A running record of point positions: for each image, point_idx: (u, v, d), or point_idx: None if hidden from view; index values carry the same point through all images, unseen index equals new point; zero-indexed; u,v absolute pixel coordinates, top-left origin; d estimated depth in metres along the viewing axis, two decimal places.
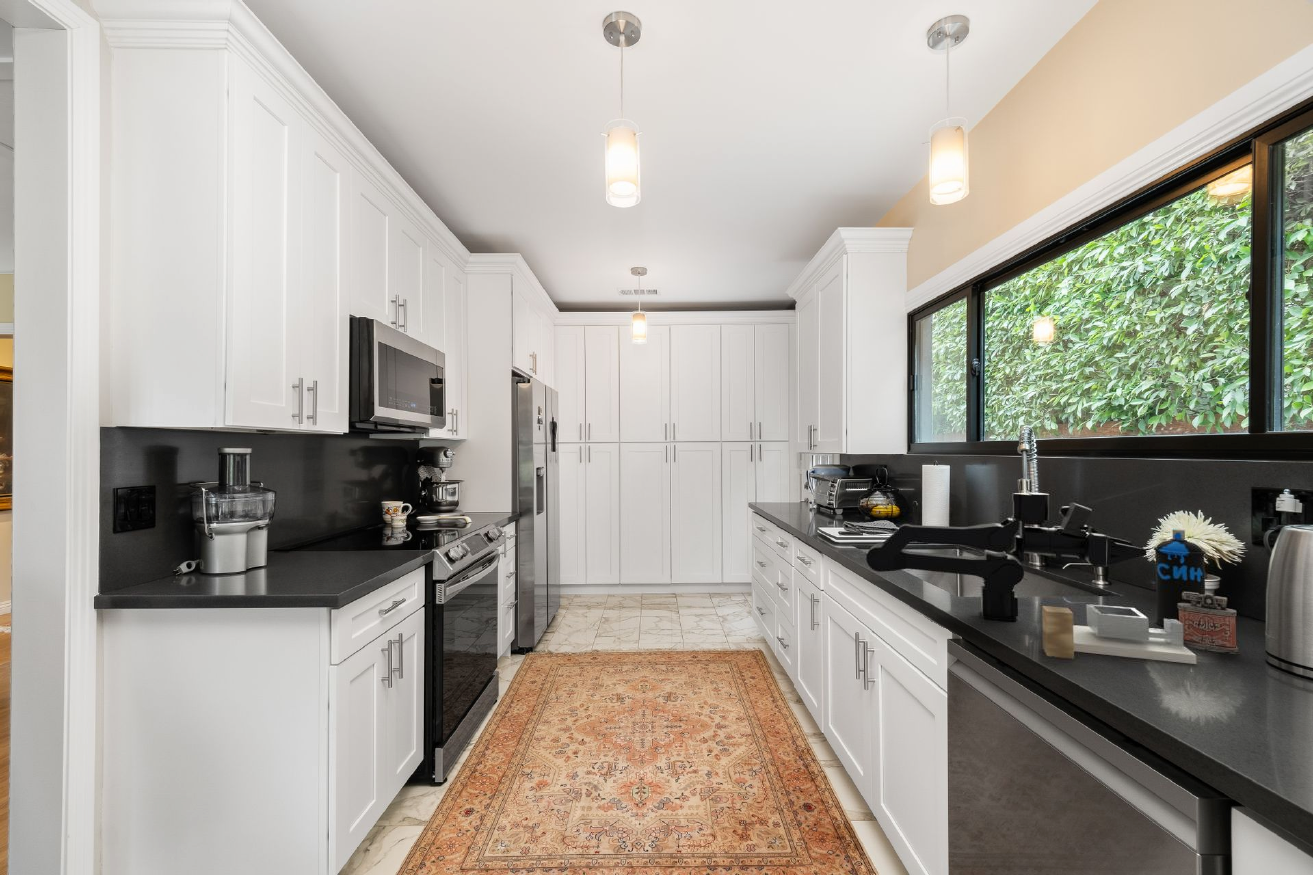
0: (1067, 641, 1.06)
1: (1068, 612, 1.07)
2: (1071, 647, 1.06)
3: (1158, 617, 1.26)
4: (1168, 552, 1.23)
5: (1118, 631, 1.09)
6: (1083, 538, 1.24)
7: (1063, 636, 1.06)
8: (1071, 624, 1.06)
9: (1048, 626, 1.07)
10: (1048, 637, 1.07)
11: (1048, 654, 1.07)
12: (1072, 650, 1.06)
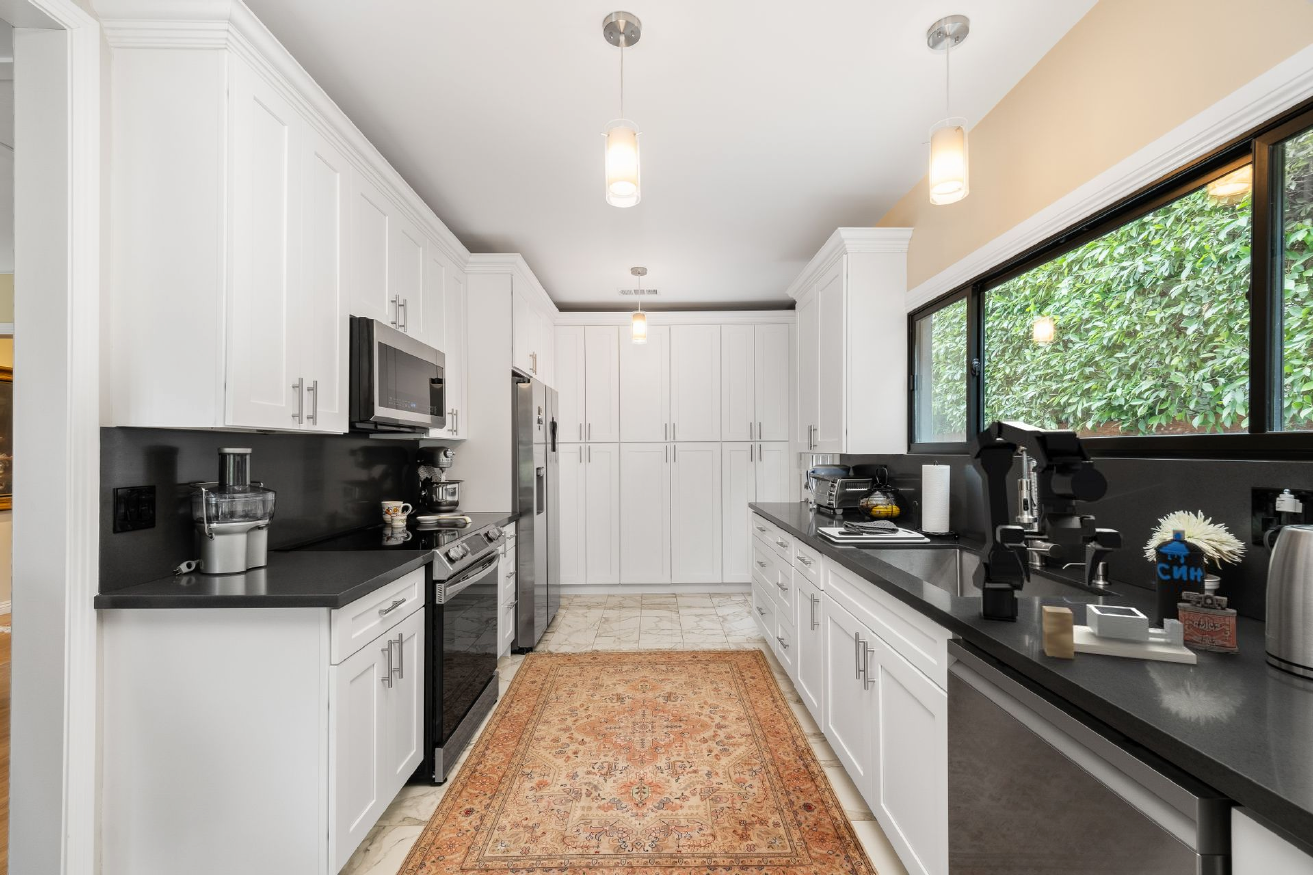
0: (1067, 641, 1.06)
1: (1068, 612, 1.07)
2: (1071, 647, 1.06)
3: (1158, 617, 1.26)
4: (1168, 552, 1.23)
5: (1118, 631, 1.09)
6: None
7: (1063, 636, 1.06)
8: (1071, 624, 1.06)
9: (1048, 626, 1.07)
10: (1048, 637, 1.07)
11: (1048, 654, 1.07)
12: (1072, 650, 1.06)
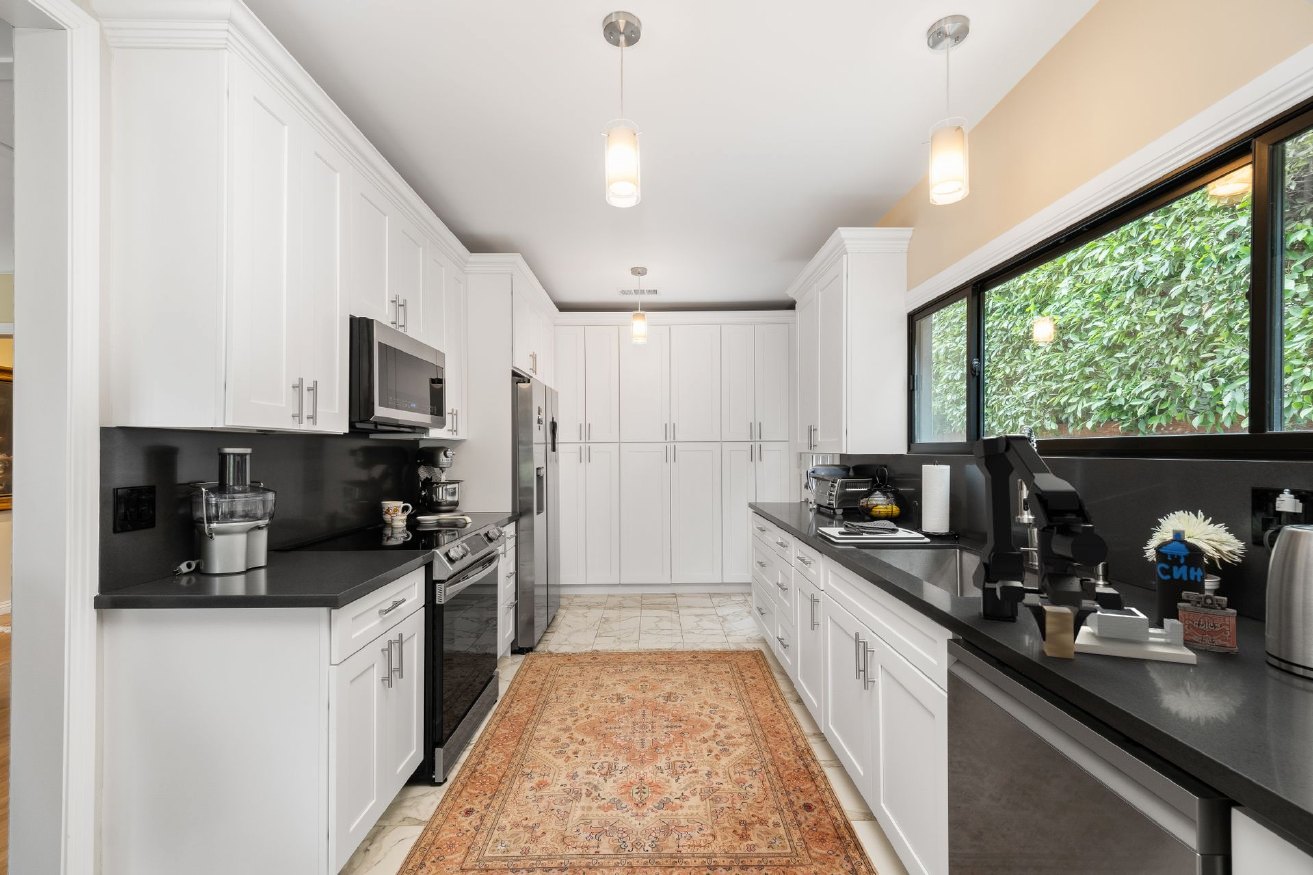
0: (1067, 641, 1.06)
1: (1068, 612, 1.07)
2: (1071, 647, 1.06)
3: (1158, 617, 1.26)
4: (1168, 552, 1.23)
5: (1118, 631, 1.09)
6: None
7: (1063, 636, 1.06)
8: (1071, 624, 1.06)
9: (1048, 626, 1.07)
10: (1048, 637, 1.07)
11: (1048, 654, 1.07)
12: (1072, 650, 1.06)
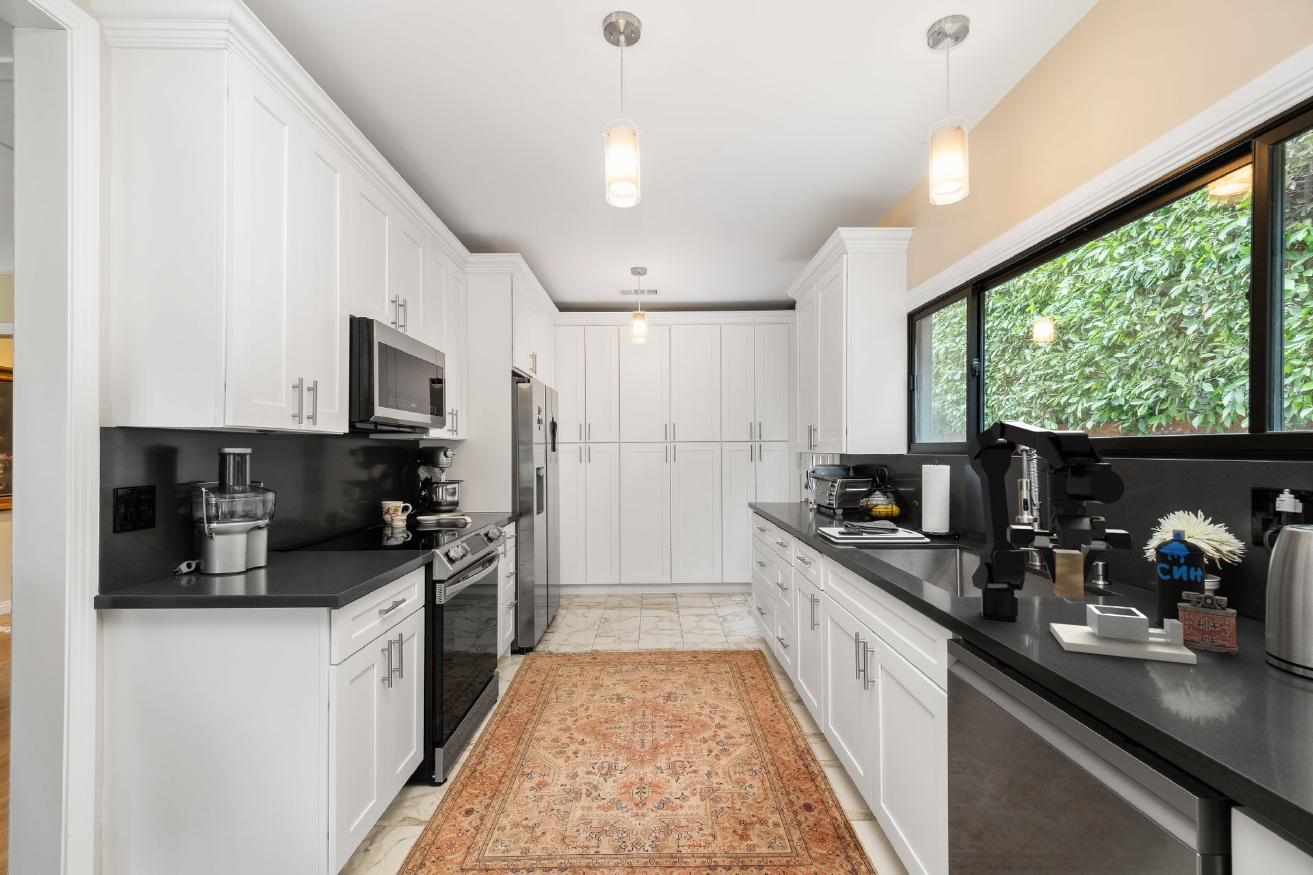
0: (1077, 582, 1.07)
1: (1078, 553, 1.08)
2: (1081, 587, 1.07)
3: (1158, 617, 1.26)
4: (1168, 552, 1.23)
5: (1118, 631, 1.09)
6: None
7: (1072, 577, 1.07)
8: (1081, 565, 1.07)
9: (1058, 567, 1.08)
10: (1058, 578, 1.08)
11: (1058, 595, 1.08)
12: (1082, 590, 1.07)
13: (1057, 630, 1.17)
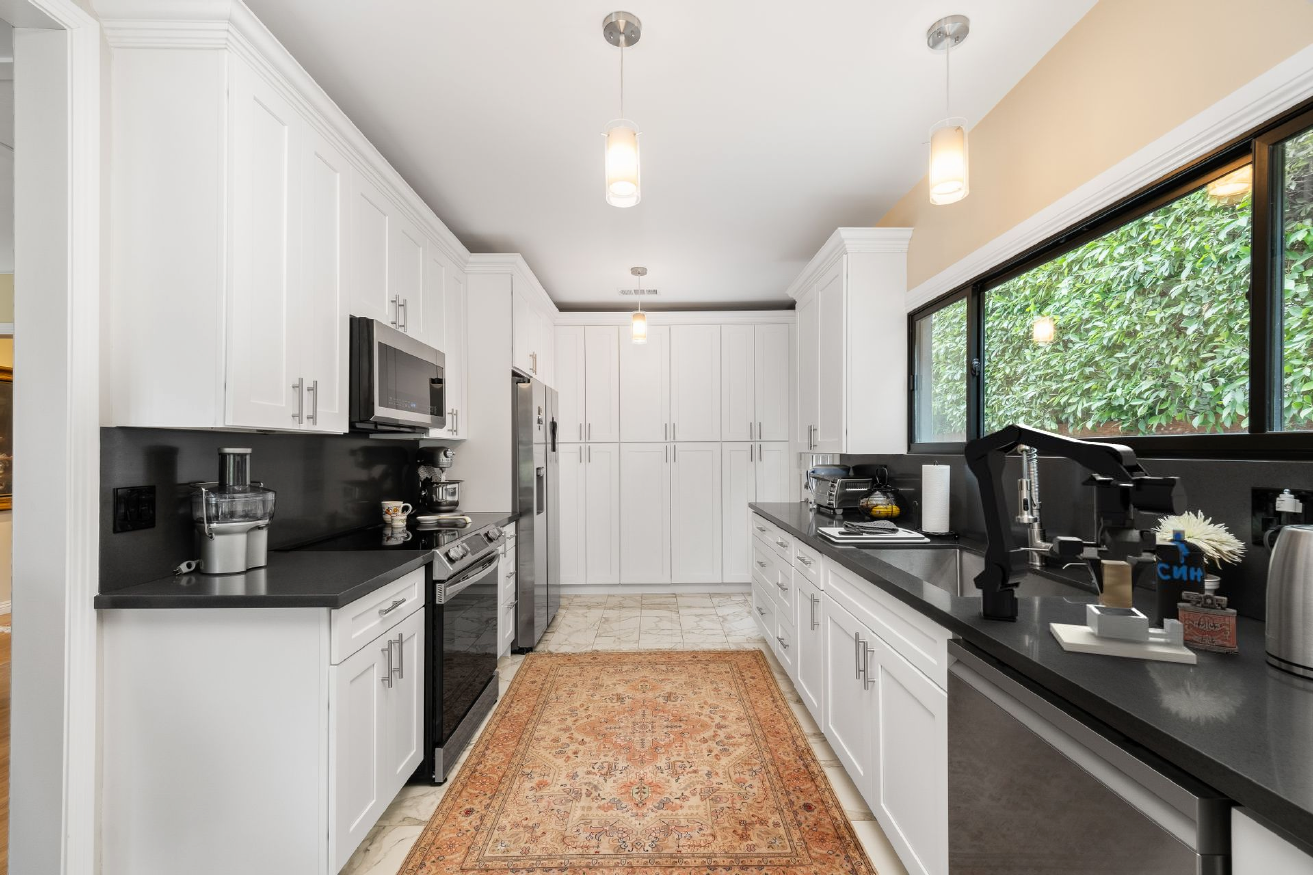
0: (1125, 592, 1.10)
1: (1126, 564, 1.11)
2: (1129, 597, 1.10)
3: (1158, 617, 1.26)
4: None
5: (1118, 631, 1.09)
6: None
7: (1121, 587, 1.10)
8: (1129, 575, 1.10)
9: (1106, 578, 1.11)
10: (1106, 588, 1.11)
11: (1106, 605, 1.11)
12: (1130, 600, 1.10)
13: (1057, 630, 1.17)
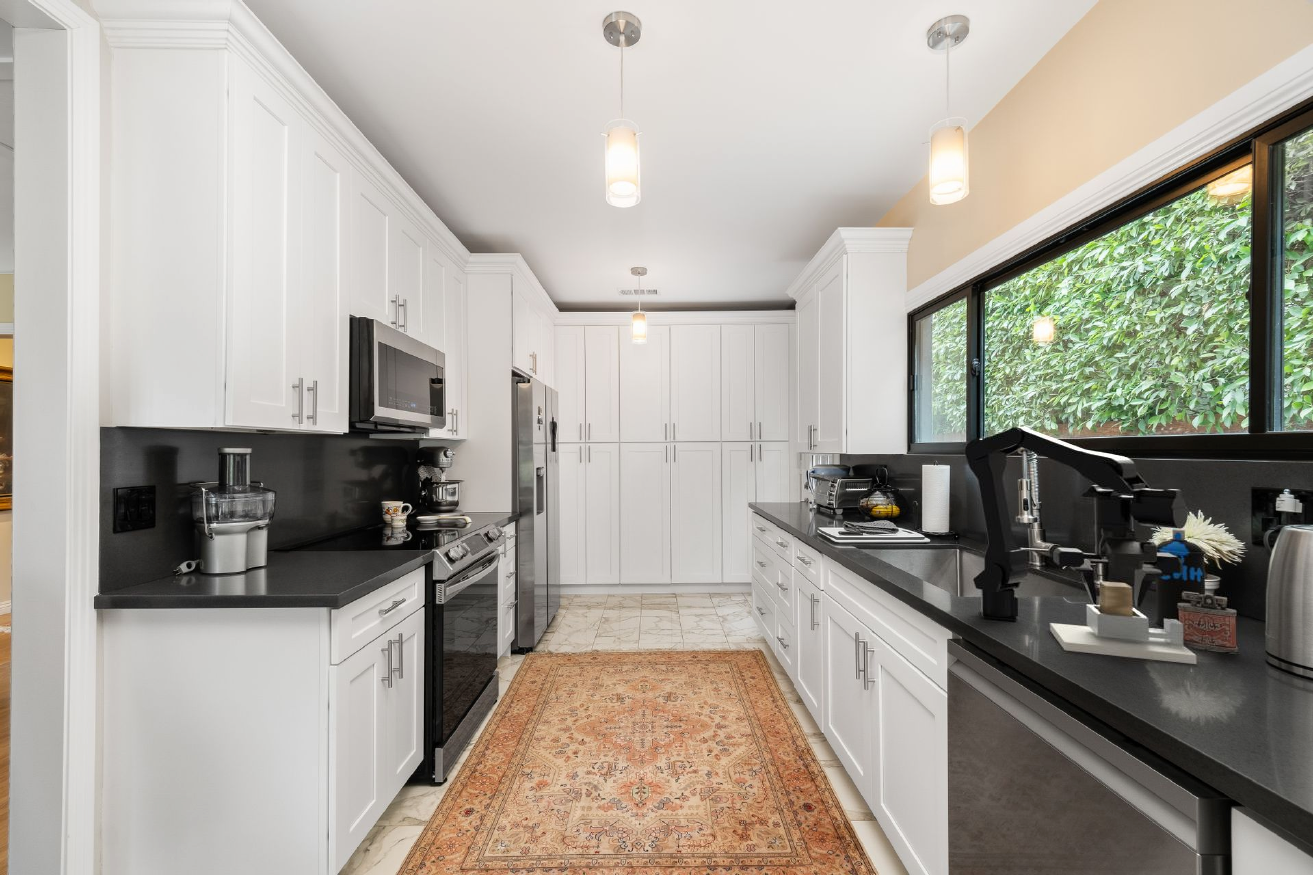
0: (1126, 615, 1.10)
1: (1127, 586, 1.11)
2: None
3: (1158, 617, 1.26)
4: (1168, 552, 1.23)
5: (1118, 631, 1.09)
6: None
7: (1122, 610, 1.10)
8: (1130, 598, 1.10)
9: (1107, 600, 1.11)
10: (1107, 611, 1.11)
11: None
12: None
13: (1057, 630, 1.17)
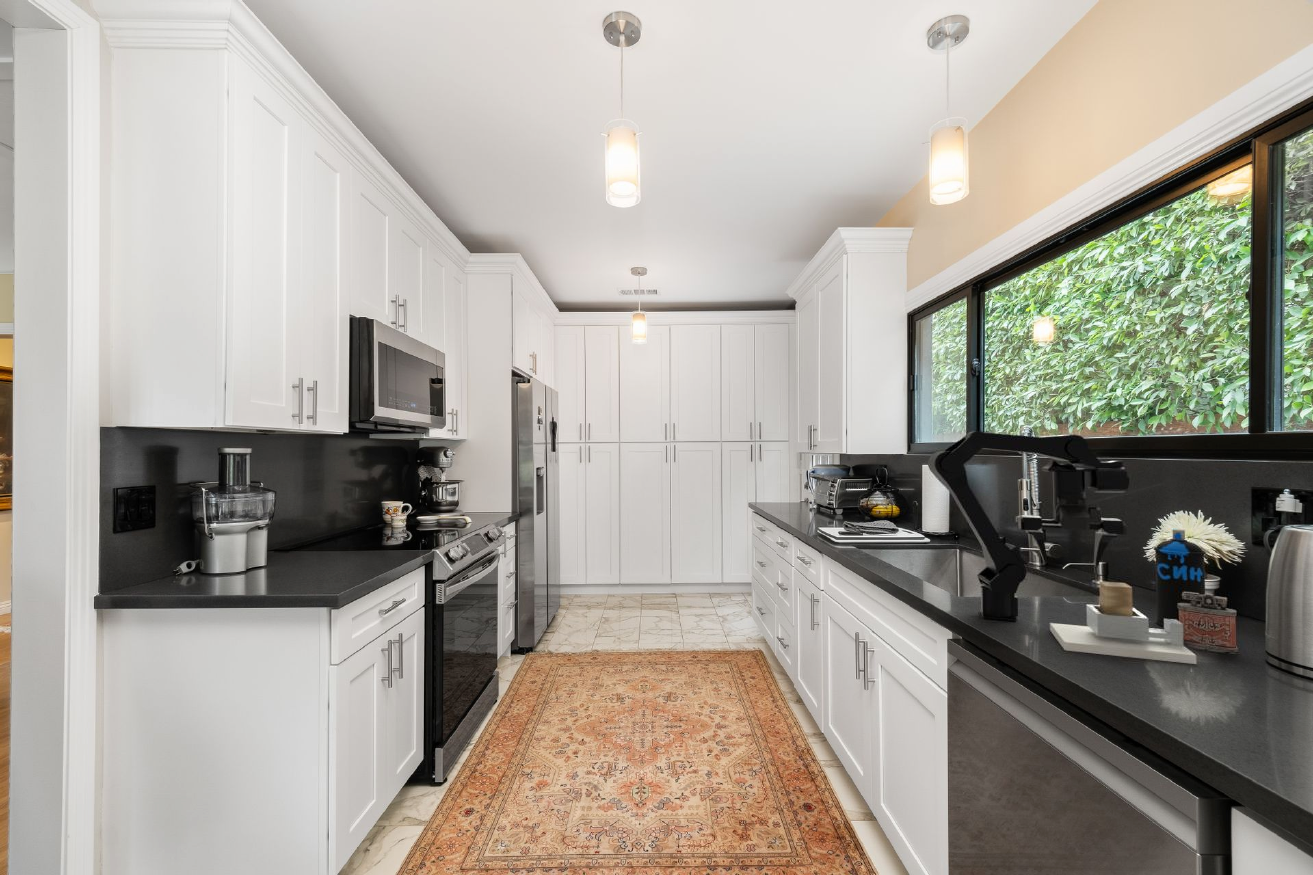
0: (1126, 615, 1.10)
1: (1127, 586, 1.11)
2: None
3: (1158, 617, 1.26)
4: (1168, 552, 1.23)
5: (1118, 631, 1.09)
6: None
7: (1122, 610, 1.10)
8: (1130, 598, 1.10)
9: (1107, 600, 1.11)
10: (1107, 611, 1.11)
11: None
12: None
13: (1057, 630, 1.17)
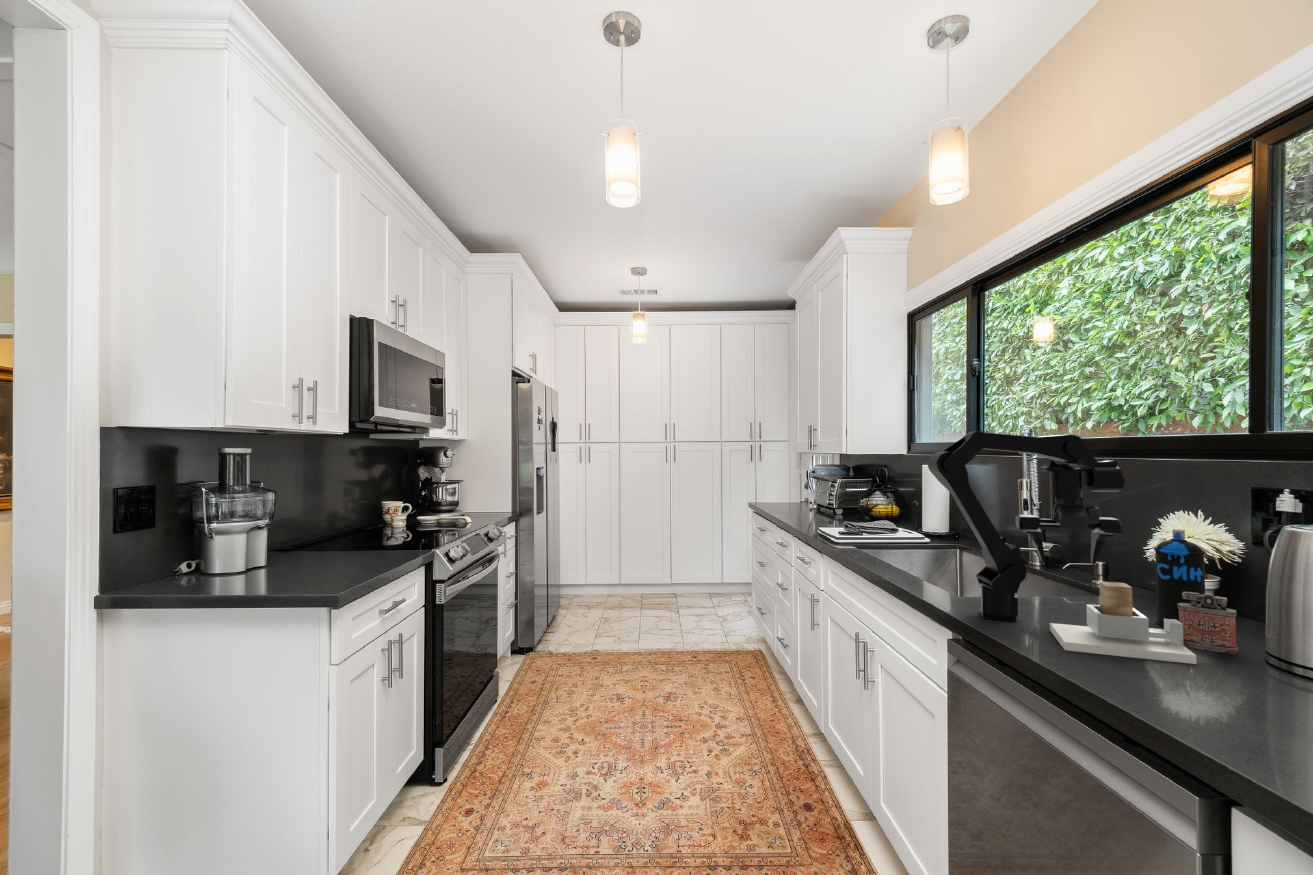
0: (1126, 615, 1.10)
1: (1127, 586, 1.11)
2: None
3: (1158, 617, 1.26)
4: (1168, 552, 1.23)
5: (1118, 631, 1.09)
6: None
7: (1122, 610, 1.10)
8: (1130, 598, 1.10)
9: (1107, 600, 1.11)
10: (1107, 611, 1.11)
11: None
12: None
13: (1057, 630, 1.17)
